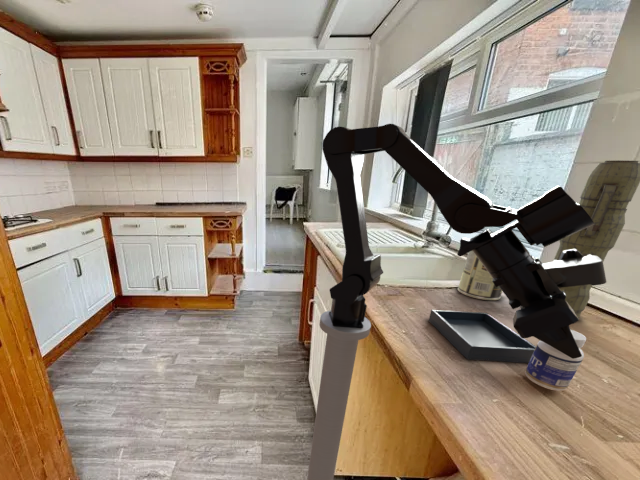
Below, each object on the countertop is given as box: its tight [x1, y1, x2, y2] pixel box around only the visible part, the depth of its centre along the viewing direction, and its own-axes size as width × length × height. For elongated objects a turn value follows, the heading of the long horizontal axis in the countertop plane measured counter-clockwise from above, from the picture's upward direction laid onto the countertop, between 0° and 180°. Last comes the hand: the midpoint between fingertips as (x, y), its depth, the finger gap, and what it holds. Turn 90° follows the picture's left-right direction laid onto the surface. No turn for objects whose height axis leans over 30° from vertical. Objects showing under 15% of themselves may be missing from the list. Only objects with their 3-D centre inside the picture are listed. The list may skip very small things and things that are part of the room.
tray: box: [428, 309, 537, 364], centre depth 62 cm, size 12×15×3 cm
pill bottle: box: [524, 329, 587, 392], centre depth 48 cm, size 5×5×9 cm
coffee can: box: [457, 251, 503, 301], centre depth 84 cm, size 10×10×14 cm
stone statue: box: [553, 160, 640, 320], centre depth 70 cm, size 9×12×35 cm
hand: (574, 349), depth 46 cm, fingers closed on pill bottle, 5 cm apart
